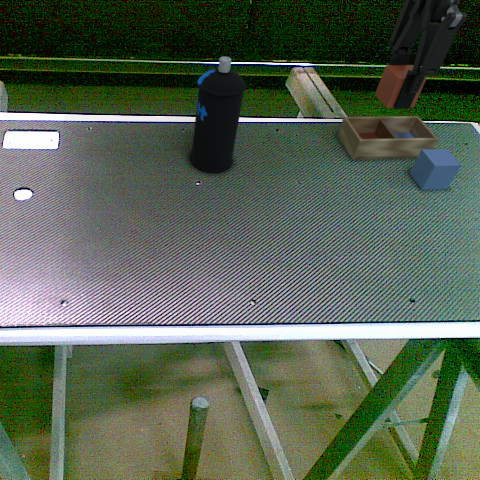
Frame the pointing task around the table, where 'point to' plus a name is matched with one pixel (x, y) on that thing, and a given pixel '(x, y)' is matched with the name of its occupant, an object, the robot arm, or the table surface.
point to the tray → (385, 137)
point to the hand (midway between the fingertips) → (394, 99)
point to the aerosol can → (217, 118)
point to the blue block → (434, 169)
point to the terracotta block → (394, 84)
